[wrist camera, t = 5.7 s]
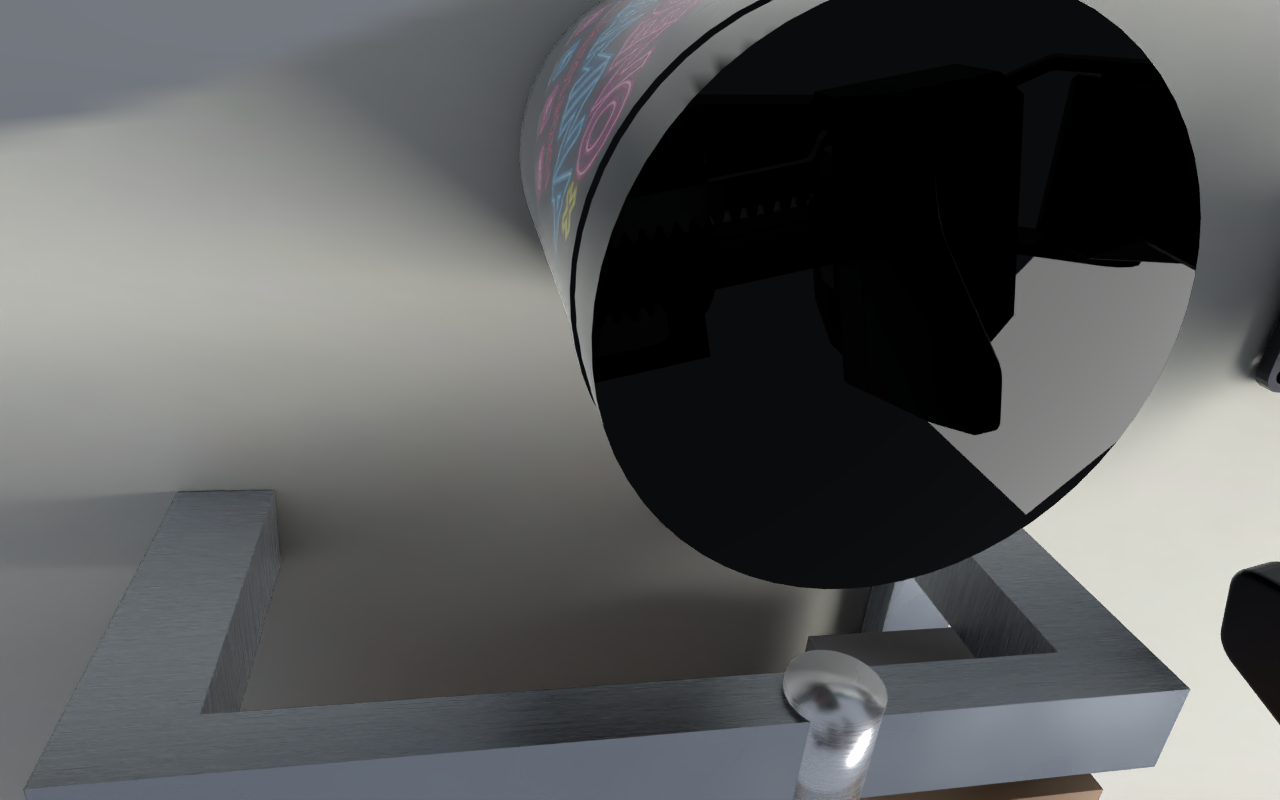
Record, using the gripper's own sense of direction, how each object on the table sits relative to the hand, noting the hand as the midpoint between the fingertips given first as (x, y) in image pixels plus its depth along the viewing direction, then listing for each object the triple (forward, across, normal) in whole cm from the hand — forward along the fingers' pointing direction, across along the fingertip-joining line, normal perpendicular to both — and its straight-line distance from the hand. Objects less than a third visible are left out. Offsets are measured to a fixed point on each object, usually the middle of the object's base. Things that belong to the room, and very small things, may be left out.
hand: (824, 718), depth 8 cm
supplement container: (+13, -2, -3) cm, 13 cm away
